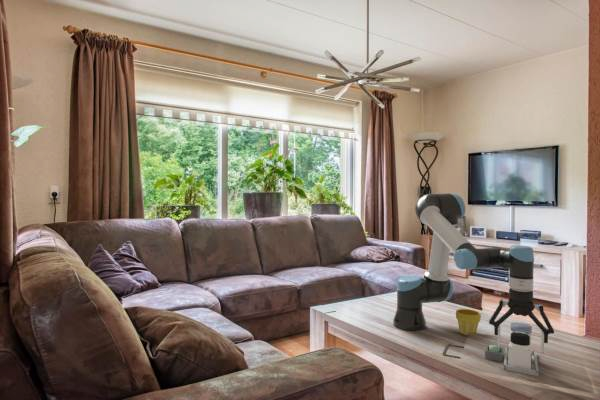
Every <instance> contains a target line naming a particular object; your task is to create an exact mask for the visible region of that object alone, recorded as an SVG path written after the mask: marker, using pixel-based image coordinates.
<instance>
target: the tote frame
mask: <svg viewBox="0 0 600 400" xmlns="http://www.w3.org/2000/svg"><path fill="white" fill-rule="evenodd" d="M449 346H450V347H451V346H452V347H457V348H461V349H462V348H463V349H464V348H465V346H463V345H458V344H457V345H456V344H451V343H447V344H446V345H445V348H444V349H443V352H442V356H446V357H450V358H456V359H461V356H457V355H452V354H451V355H450V354H447V353H446V352H447V350H448V348H449Z"/></svg>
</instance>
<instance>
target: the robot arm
mask: <svg viewBox="0 0 600 400" xmlns="http://www.w3.org/2000/svg"><path fill="white" fill-rule="evenodd" d="M414 211H415V212H414V213H415V215H416V217H417V218H418V220H419V222H421V224H423V225H427V226H428V227H429V229H430V230H431V231H432V233H433V234H432V239H431V246H430V254H429V261H428V268H427V270H426V271H425V272H424V274H423V278H422V276H420V275H411V274H410V275H405V276H402V277H399V279H397V283H396V303H397V304H396V310H395V314H394V318H393V319H392V320H393V323H392V325H393V326H395V327H396V328H397V329H401V330H406V331H421V330H424V329H426V328H427V321H426V318H425V315H424V312H423V304H426V303H427V304H428V303H429V304H431V303H441V302H447V301H449V300H450V299H451V297H452V295H453V292H454V286H453V282H452V280H451V279H450V276H449V275H448V273H447V272H448V267H449V259H450V254H451V253H452V254H453V261H454V263H455V266H456V268H458V269H460V270H467V271H468V270H469V271H471V270H482V269H483V270H484V269H504V270H509V272H508V273H509V274H508V275H509V278H508V284H509V285H508V287H510V288H509V289H508V301H506V300H504V299H502V298H501V299H500V300H499V303H498V306H497V307H496V308H495V311H494V312H493V314H492V316H491V317H490V318H489V320H488V324H489V325H491V326H493V328H494V329H493V330H494V332H493V333H494V336H497V346H499V347H500V346H501V324H503V323H504V322H505V321H506V320H507V319H508V318H509V317H511V316H512V315H513V314H514V315H515V316H523V317H526V316H529V318H530V319H531V320H532V321H533V322H534V324H535V325H536V326H537V327H538V328H539V329H540V331H541V332H540V353H541V354H544V352H545V344H548V342H549V341H548V340H549V335H550V334H554V333H555V330H554V328H553V325H552V324H551V322H550V320H549V318H548V316H547V315H546V313H545V310H544V305H543V304H542V303H540V304H534V291H533V290H534V263H535V262H534V261H535V256H534V248H533V247H532V246H528V245H518V244H517V245H515V244H514V245H511V246H510V247H509V249H508V248H505V247H504V248H503V247H500V246H493V245H491V246H488V247H487V248H485V247H484V248H482V247H481V248H477V247H475V246H474V245H473V244H472V243H471V242H470V241H469V240H468V238H466V237H465V236H464V235H463V234H462V233H461V232H460V231H459V230H458V229H457V228H456V226H458V223H459V220H460V219H462V218H463V217H464V216H465V213H466V203H465V201H464V200H463V198H462V197H461V196H460V195H459V194H456V193H427V194H424V195H422V196H421V197H420V198H418V200H416V203H415V207H414ZM506 306H508V308H509V309H508V310H507V311H506V312H505V313H504V314H502V316H500V317H499V318H498V316H499V314H500V312H501V311H502V309H503V308H505V307H506ZM534 309H536V311H537V312H539V313H540V316H541V318H542V320H543V322H544V323H545V326H544V324H543V323H542V322H541V321H540V320H539V319H538V318H537V317H536V315H535V314H534V312H533V311H534ZM497 318H498V319H497ZM496 319H497V320H496ZM495 320H496V321H495ZM546 327H547V328H546Z"/></svg>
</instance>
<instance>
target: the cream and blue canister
mask: <svg viewBox="0 0 600 400" xmlns="http://www.w3.org/2000/svg"><path fill="white" fill-rule="evenodd" d="M532 327H533V326H532V325H530V324H528V323H524V322H516V321H515V322H511V323H510V334H511V333H512V332H523V333H526V334H527V335H529V336H530V346H531V347H532V332H533V331H532V329H533V328H532Z"/></svg>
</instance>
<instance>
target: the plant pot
mask: <svg viewBox="0 0 600 400" xmlns="http://www.w3.org/2000/svg"><path fill="white" fill-rule="evenodd" d="M481 315H482V313H481V312H480V311H477V310H475V309H469V308H458V309H456V310H455V318H456V320H457V323H458V328H459V333H460V334H462V335H464V336H469V335H470V334H477V331H478V326H479V323H480V322H481Z"/></svg>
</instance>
